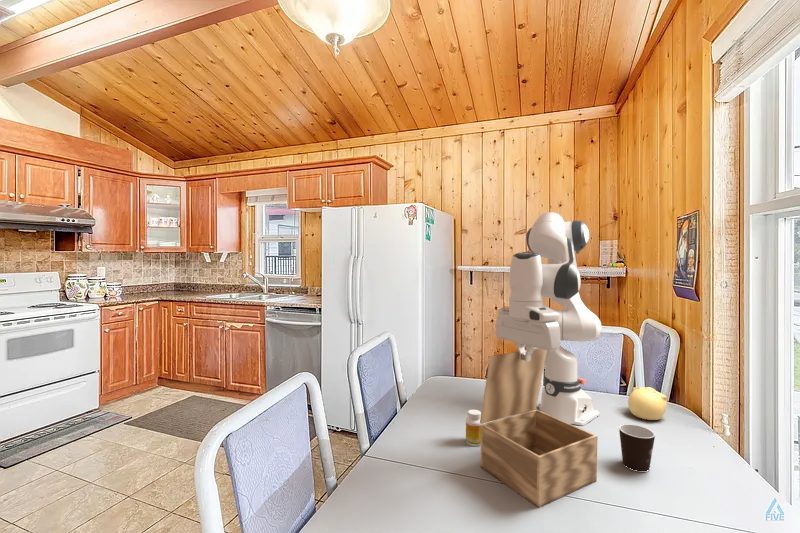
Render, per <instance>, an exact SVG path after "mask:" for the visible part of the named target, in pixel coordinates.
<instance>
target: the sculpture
mask: <svg viewBox="0 0 800 533" xmlns="http://www.w3.org/2000/svg"><path fill="white" fill-rule="evenodd" d="M667 404H668V397H667V396H666V395H665V394H663V393H661V392H659V391H657V390H656V389H655V388H653V387H649V386H648V387H647V386H646V387H644V386H643V387H642V386H635V387H632V392H630V393H629V395H628V398H627V406H628V408H629V411H630V412H631V415H633V416H635V417H637V418H638V419H641V418H642V419H641V420H646V419H647V421H657V420H660V419H662V418H663V417H664V415H665V413H666V410H667V407H668V405H667Z"/></svg>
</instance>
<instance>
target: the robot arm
mask: <svg viewBox="0 0 800 533" xmlns="http://www.w3.org/2000/svg"><path fill="white" fill-rule="evenodd" d="M525 236H526V237H525V241H526V242H525V243H526V246H527V248H528V249H527V250H529V251H522V252H517V253H515V254H513V255H512V257H511V261H510V267H509V281H508V283H509V284H508V285H509V288H510V293H509V299H508V302H509V304H508V306H509V307H505V306H504V307H501V308H500V309H499V310H498V312H497V317H496V324H495V336H496V338H498V339H501V340H503V341H509V342H512V343H515V347H516V349H517V351H518V352H519V358H520V359H521V360H525V361H531V354H532V353H533V351H534V349H535V348H540V349H543V350H547V353H546V358H545V364H544V375H543V378H542V382H543V387H542V391H541V398H540V404H539V405H538V410H539V411H541V412H543V413H546V414H548V415H550V416H553V417H555V418H557V419H560V420H562V421H564V422H566V423H569V424H571V425H577V426H585V425H587V424H588V423H590V422H591V421H593V420H595V419H596V418H598V417H599V416H600V415H601V413H600V411H599V410H598V409H596V408H594V407H593V406H594V403H593V399H592V397H591V396H590V394H587V393H586V392H585V391H584V390H583V389H582V388H581V385H582V386H584V385H585V384H586V380H585V379H584V378H581V377H578V371H579V370H578V367H579V362H578V357H577V356H576V355H575V354H574V353H573V352H571V351H569V350H568V349H566V348H564V347H563V346H562V345H561V341H564V342H565V341H567V342H576V343H577V342H578V343H579V342H580V343H582V342H583V343H584V342H591V341H596V340H597V339H598V338H599V337H600V335H601V332H602V322H601V320H600V318H599V317H598V316H597V315H596V314H595V313H593V312H592V311H591V310H590V309H589V308H587V306H586V305H585V304H584V302H583V301H582V299H581V296H580V292H579V291H580V289H581V282H582V281H581V276H580V272H579V270H578V267H577V266H578V265H577V259H576V255H579V254H580V252H581V251H582V250H583V249H585V248H586V246H587V245H588V242H589V240H590V232H589V229H588V226H587V225H586V223H585V222H584V221H583V220H572V221H564V219H563V217H562V216H561V215H560V214H559V213H556V212H554V211H553V212H552V211H547V212H545V213H542V214H540V215H539V216H538V218H537V219H536V220H535V222H534V223H533V225H532V226H531V227H530V228H529V229H528V231H527V232H526V235H525ZM542 258H543V259H547V263H542ZM543 298H549V299H551V300H552V301H554V302H556V303H557V304H560V305H561V306H562V307H563V309H561V310H560V309H552V308H550V307H549V306H547V305H545V304H543V302H544V301H543ZM525 350H527V351H526V352H525ZM597 416H598V417H597Z"/></svg>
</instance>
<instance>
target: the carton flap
mask: <svg viewBox="0 0 800 533" xmlns="http://www.w3.org/2000/svg"><path fill="white" fill-rule="evenodd" d="M526 351H527V349H525V352H526ZM546 353H547V350H543V349H540V348H536V347H535V349H534V351H533V353H532V354H531V361H525V360H521V359H520V358H519V352H518V350H517V351H513V352H512V351H511V352H506V353H501V354H495V355H494V354H493V355H489V362H488V367H487V374H486V381H485V386H484V393H483V400H482V406H481V411H480V412H481V418H480V423H481V424H486V423H489V422H493V421H496V420H500V419H503V418H507V417H511V416H514V415H518V414H521V413H525V412H528V411H532V410H537V406H538V400H539V395H540V390H541V384H542V381H543V372H544V370H545V358H546Z"/></svg>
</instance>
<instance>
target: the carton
mask: <svg viewBox="0 0 800 533" xmlns="http://www.w3.org/2000/svg"><path fill="white" fill-rule="evenodd" d="M598 438H599V437H598V435H596V434H595V433H592V432H591V431H590V432H589V431H587V430H585V429H582V428H580V427H578V426H575V425H574V424H569V423H566V422H564V421H562V420H560V419H557V418H555V417H553V416H550V415H548V414H546V413H543V412H541V411H540V409H533V410H530V411H526V412H522V413H519V414H515V415H512V416H508V417H505V418H501V419H497V420H494V421H490V422H487V423H483V424H482V425H481V445H480V468H481V469H482V470H484V471H485V472H486V473H488V474H490V475H491V476H492V477H494V478H495V479H497V480H498V481H500V482H501V483H502V484H504V485H505V486H507V487H508V488H510V489H511V490H512V491H514V492H515V493H517V494H518V495H519V496H521V497H522V498H524V499H525V500H526V501H528V502H529V503H531V504H532V505H534V506H535V507H536V508H538V509H540V508H543V507H544V506H546V505H549V504H550V503H553V502H555V501H557V500H559V499H562V498H563V497H566V496H568V495H570V494H572V493H574V492H576V491H578V490H581V489H583V488H585V487H587V486H589V485H591V484H594V483H596V482H597V480H598V479H597V478H598V477H597V473H598Z"/></svg>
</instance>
